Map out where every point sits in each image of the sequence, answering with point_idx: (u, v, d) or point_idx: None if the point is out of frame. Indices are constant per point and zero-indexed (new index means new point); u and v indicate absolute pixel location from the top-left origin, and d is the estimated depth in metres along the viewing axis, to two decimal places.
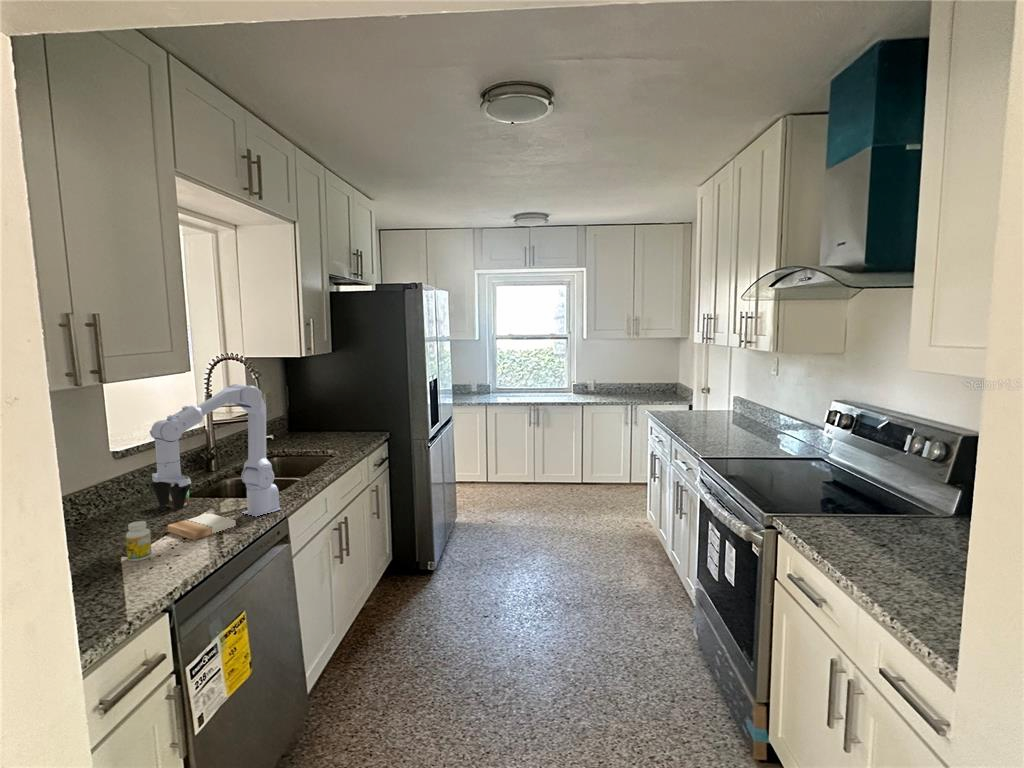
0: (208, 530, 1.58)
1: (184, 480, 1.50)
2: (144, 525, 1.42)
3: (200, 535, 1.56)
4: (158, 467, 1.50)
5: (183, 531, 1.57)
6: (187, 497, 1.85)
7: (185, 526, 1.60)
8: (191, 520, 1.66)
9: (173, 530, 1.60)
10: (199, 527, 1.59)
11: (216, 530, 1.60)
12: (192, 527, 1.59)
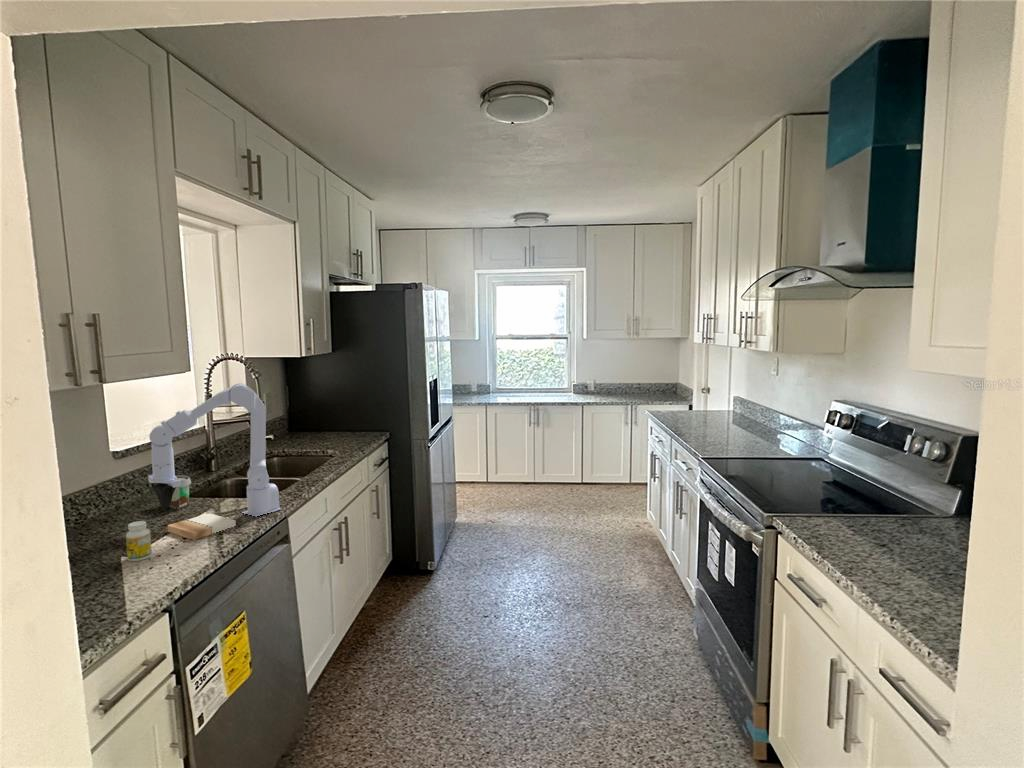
0: (208, 530, 1.58)
1: (177, 481, 1.61)
2: (144, 525, 1.42)
3: (200, 535, 1.56)
4: (153, 469, 1.62)
5: (183, 531, 1.57)
6: (187, 497, 1.85)
7: (185, 526, 1.60)
8: (191, 520, 1.66)
9: (173, 530, 1.60)
10: (199, 527, 1.59)
11: (216, 530, 1.60)
12: (192, 527, 1.59)
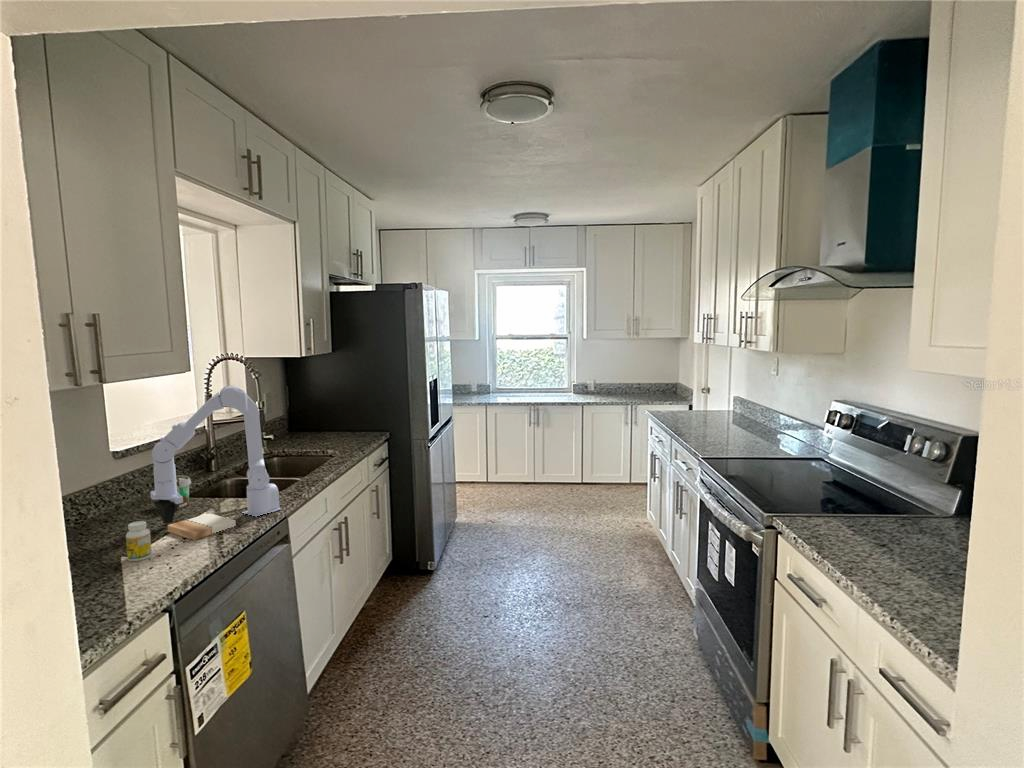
0: (208, 530, 1.58)
1: (180, 498, 1.61)
2: (144, 525, 1.42)
3: (200, 535, 1.56)
4: (156, 486, 1.62)
5: (183, 531, 1.57)
6: (187, 497, 1.85)
7: (185, 526, 1.60)
8: (191, 520, 1.66)
9: (173, 530, 1.60)
10: (199, 527, 1.59)
11: (216, 530, 1.60)
12: (192, 527, 1.59)
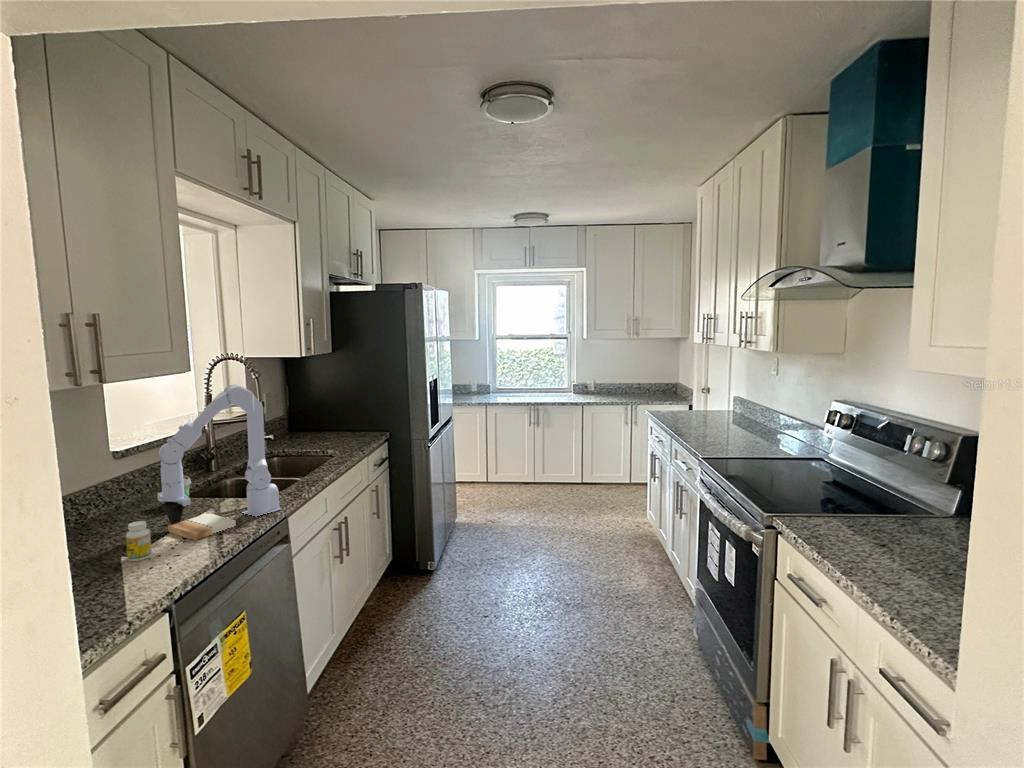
0: (209, 530, 1.58)
1: (187, 500, 1.60)
2: (144, 525, 1.42)
3: (201, 535, 1.56)
4: (163, 487, 1.60)
5: (184, 531, 1.57)
6: None
7: (186, 526, 1.60)
8: (191, 520, 1.66)
9: (174, 530, 1.60)
10: (199, 527, 1.59)
11: (216, 530, 1.60)
12: (193, 527, 1.59)
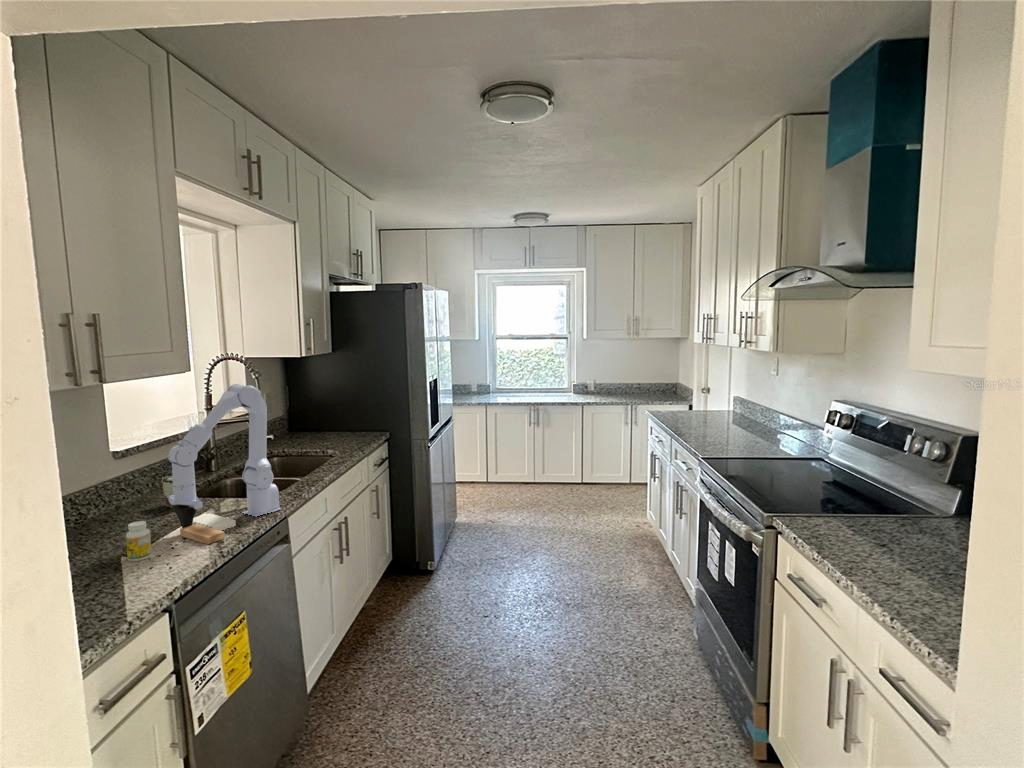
0: (221, 534, 1.55)
1: (199, 503, 1.57)
2: (144, 525, 1.42)
3: (214, 539, 1.53)
4: (175, 490, 1.57)
5: (196, 535, 1.54)
6: None
7: (198, 530, 1.57)
8: None
9: (186, 534, 1.57)
10: (212, 531, 1.56)
11: None
12: (205, 531, 1.56)
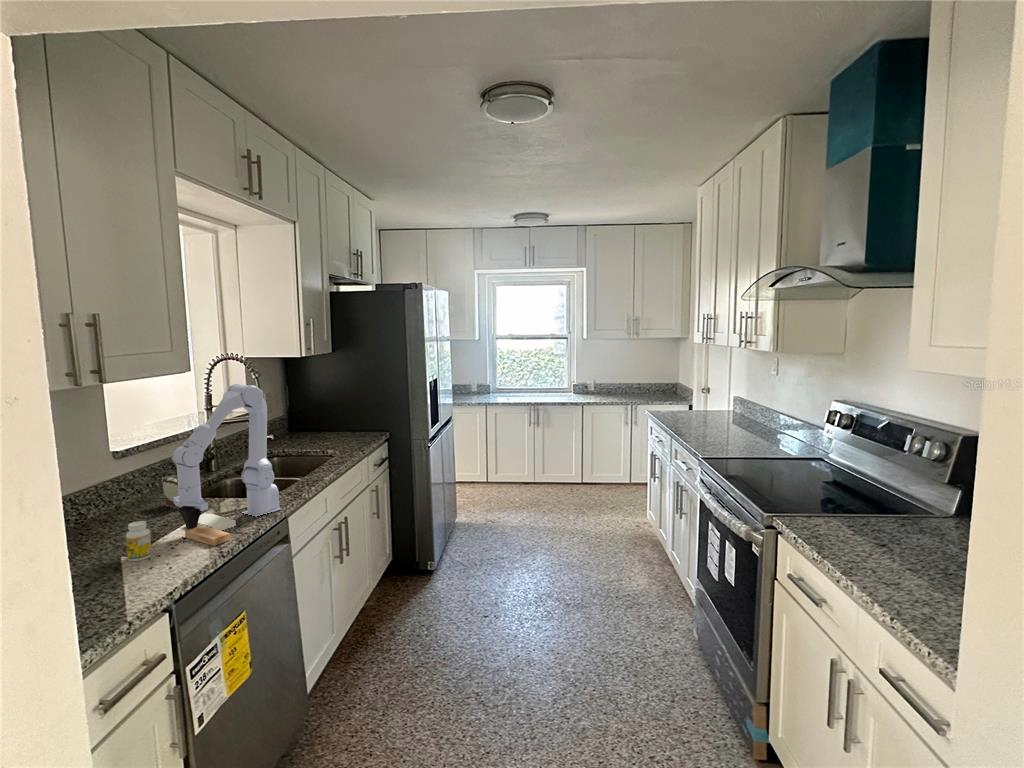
0: (227, 536, 1.54)
1: (205, 504, 1.55)
2: (144, 525, 1.42)
3: (219, 541, 1.52)
4: (180, 492, 1.56)
5: (201, 537, 1.53)
6: None
7: (204, 531, 1.56)
8: None
9: (191, 536, 1.55)
10: (217, 533, 1.55)
11: None
12: (211, 532, 1.55)
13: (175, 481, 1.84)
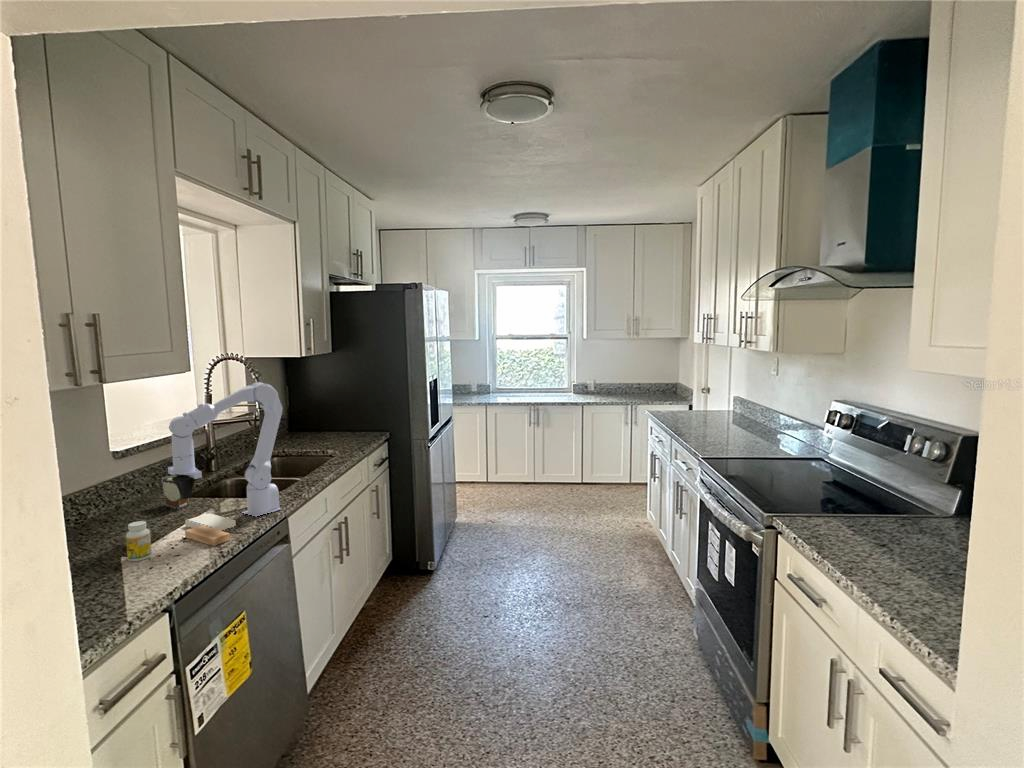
0: (227, 536, 1.54)
1: (199, 473, 1.61)
2: (144, 525, 1.42)
3: (219, 541, 1.52)
4: (174, 461, 1.61)
5: (201, 537, 1.53)
6: None
7: (204, 531, 1.56)
8: (191, 520, 1.66)
9: (191, 536, 1.55)
10: (217, 533, 1.55)
11: None
12: (211, 532, 1.55)
13: None
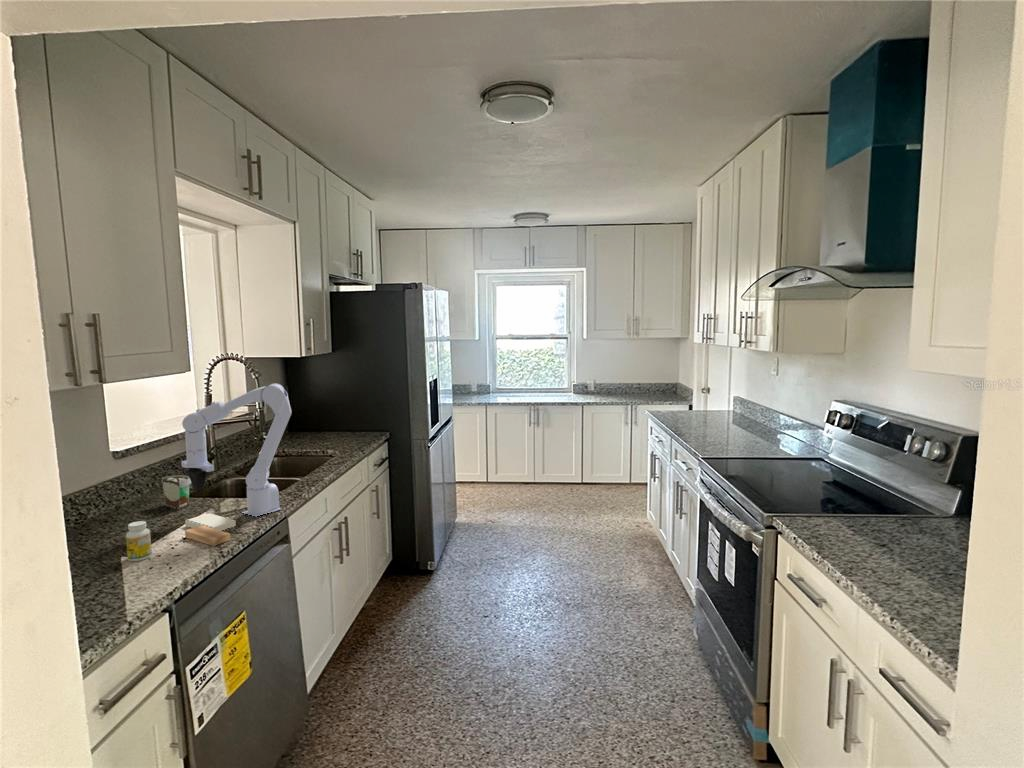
0: (227, 536, 1.54)
1: (211, 466, 1.68)
2: (144, 525, 1.42)
3: (219, 541, 1.52)
4: (188, 454, 1.69)
5: (201, 537, 1.53)
6: (187, 497, 1.85)
7: (204, 531, 1.56)
8: (191, 520, 1.66)
9: (191, 536, 1.55)
10: (217, 533, 1.55)
11: None
12: (211, 532, 1.55)
13: (175, 481, 1.84)
